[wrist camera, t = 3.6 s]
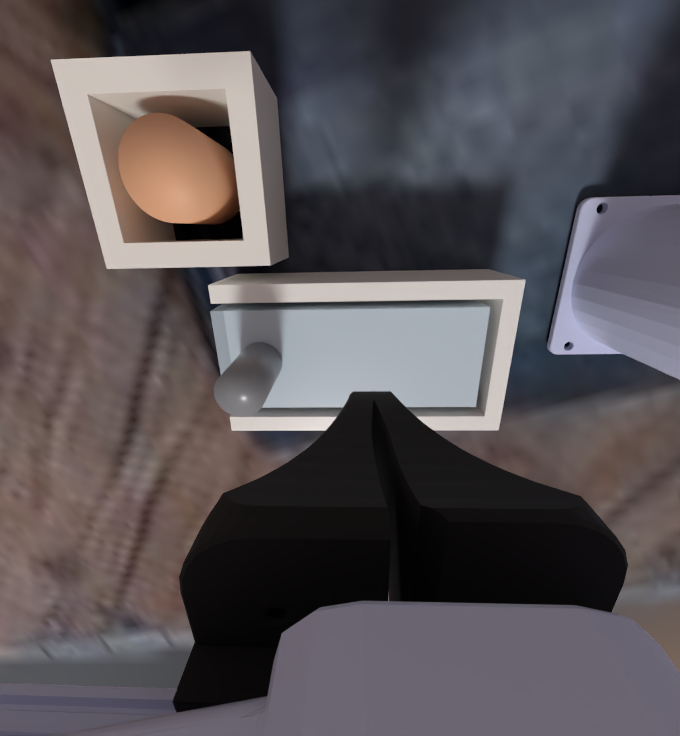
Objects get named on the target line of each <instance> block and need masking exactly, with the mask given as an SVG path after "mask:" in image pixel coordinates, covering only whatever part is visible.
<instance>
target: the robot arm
mask: <svg viewBox="0 0 680 736" xmlns="http://www.w3.org/2000/svg"><path fill="white" fill-rule="evenodd" d="M599 204H602V211H601V212H600V213H599V214H598V213H597V207H598V205H599ZM567 342H569V343H570V344H569V346H568V347H567V348H564V345H565V344H566V343H567ZM547 348H548V350H549V351H550V352H552V353H554V354H625V355H627V356H629V357H631V358H633V359H636V360H638V361H640V362H642V363H644V364H647V365H649V366H651V367H653V368H655V369H657V370H660V371H662V372H664V373H666V374H668V375H671V376H673V377H675V378H677V379H679V380H680V195H663V196H625V197H592V198H587V199H584V200H583V201H581V203H580V204H579V205H578V207H577V210H576V215H575V219H574V224H573V229H572V233H571V238H570V242H569V247H568V252H567V256H566V261H565V265H564V270H563V275H562V279H561V284H560V288H559V293H558V298H557V302H556V307H555V311H554V316H553V321H552V325H551V330H550V334H549V339H548V343H547ZM627 567H628V563H627V557H626V552H625V549H624V548H623V546H622V545H621V543H620V542H619V540H618V539H617V537H616V536H615V535H614V534H613V532H612V531H611V530H610V529H609V528H608V527H607V525H606V524H605V523H604V522H603V521H602V520H601V519H600V517H599V516H598V515H597V514H596V513H595V512H594V510H593V509H592V508H591V507H590V506H589V505H588V504H587V502H586V501H585V500H584V499H583V498H582V497H581V496H578V495H575V494H572V493H569V492H565V491H562V490H559V489H556V488H553V487H550V486H546V485H543V484H540V483H537V482H534V481H531V480H528V479H526V478H523V477H520V476H518V475H515V474H513V473H510V472H508V471H505V470H503V469H501V468H498V467H496V466H494V465H492V464H489V463H487V462H485V461H483V460H481V459H479V458H477V457H475V456H473V455H471V454H469V453H468V452H466V451H464V450H462V449H460V448H459V447H457V446H456V445H454V444H452V443H451V442H449V441H448V440H446V439H444V438H443V437H442V436H440V435H439V434H437V433H436V432H435V431H433V430H432V429H431V428H429V427H428V426H427V425H426V424H424V423H423V422H422V421H421V420H420V419H418V418H417V417H416V416H415V415H414V414H413V413H412V412H411V411H409V410H408V409H407V408H406V407H405V406H404V405H403V404H402V403H401V402H400V401H399V399H398V398H397V397H396V396H395V395H394V394H393V393H392V392H391V391H353V392H352V393H351V394H350V395H349V398H348V400H347V402H346V404H345V405H344V407H343V409H342V410H341V412H340V413H339V414H338V416H337V417H336V419H335V420H334V421H333V422H332V424H331V425H330V426H329V427H328V428H327V430H326V431H325V432H324V433H323V434H322V435H321V436H320V437H319V438H318V439H317V440H316V441H315V442H314V443H313V444H312V445H311V446H310V447H308V448H307V449H306V450H305V451H303V452H302V453H300V454H299V455H298V456H296V457H295V458H293V459H292V460H291V461H289V462H288V463H286V464H284V465H283V466H281V467H279V468H278V469H276V470H274V471H272V472H270V473H268V474H267V475H265V476H263V477H261V478H259V479H256V480H254V481H252V482H249V483H247V484H245V485H242V486H240V487H238V488H235V489H233V490H231V491H228V492H225V493H223V494H222V496H221V497H220V499H219V501H218V502H217V504H216V505H215V507H214V508H213V509H212V511H211V512H210V514H209V516H208V517H207V519H206V521H205V522H204V524H203V526H202V527H201V529H200V531H199V533H198V535H197V537H196V539H195V541H194V543H193V545H192V547H191V549H190V551H189V553H188V555H187V557H186V559H185V561H184V563H183V567H182V570H181V573H180V576H179V580H180V590H181V595H182V598H183V602H184V605H185V609H186V612H187V616H188V619H189V623H190V626H191V630H192V633H193V637H194V640H195V643H194V646H193V649H192V651H191V654H190V656H189V659H188V662H187V664H186V667H185V670H184V672H183V675H182V677H181V680H180V683H179V686H178V688H177V689H176V688H144V687H112V686H111V687H110V686H79V685H49V684H16V683H0V736H680V672H679V671H678V669H677V668H676V667H675V665H674V664H673V663H672V661H671V660H670V659H669V657H668V656H667V655H666V653H665V652H664V650H663V649H662V648H661V646H660V645H659V644H658V643H657V642H656V641H655V640H654V639H653V638H652V637H651V636H650V635H649V634H648V633H647V632H646V631H645V630H644V629H642V628H641V627H640V626H639V625H638V624H637V623H636V622H635V621H634V620H633V619H631V618H628V617H625V616H622V615H619V614H615V613H611V612H612V609H613V607H614V605H615V602H616V600H617V598H618V595H619V593H620V591H621V588H622V586H623V583H624V580H625V576H626V571H627ZM388 590H389V601H388Z"/></svg>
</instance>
